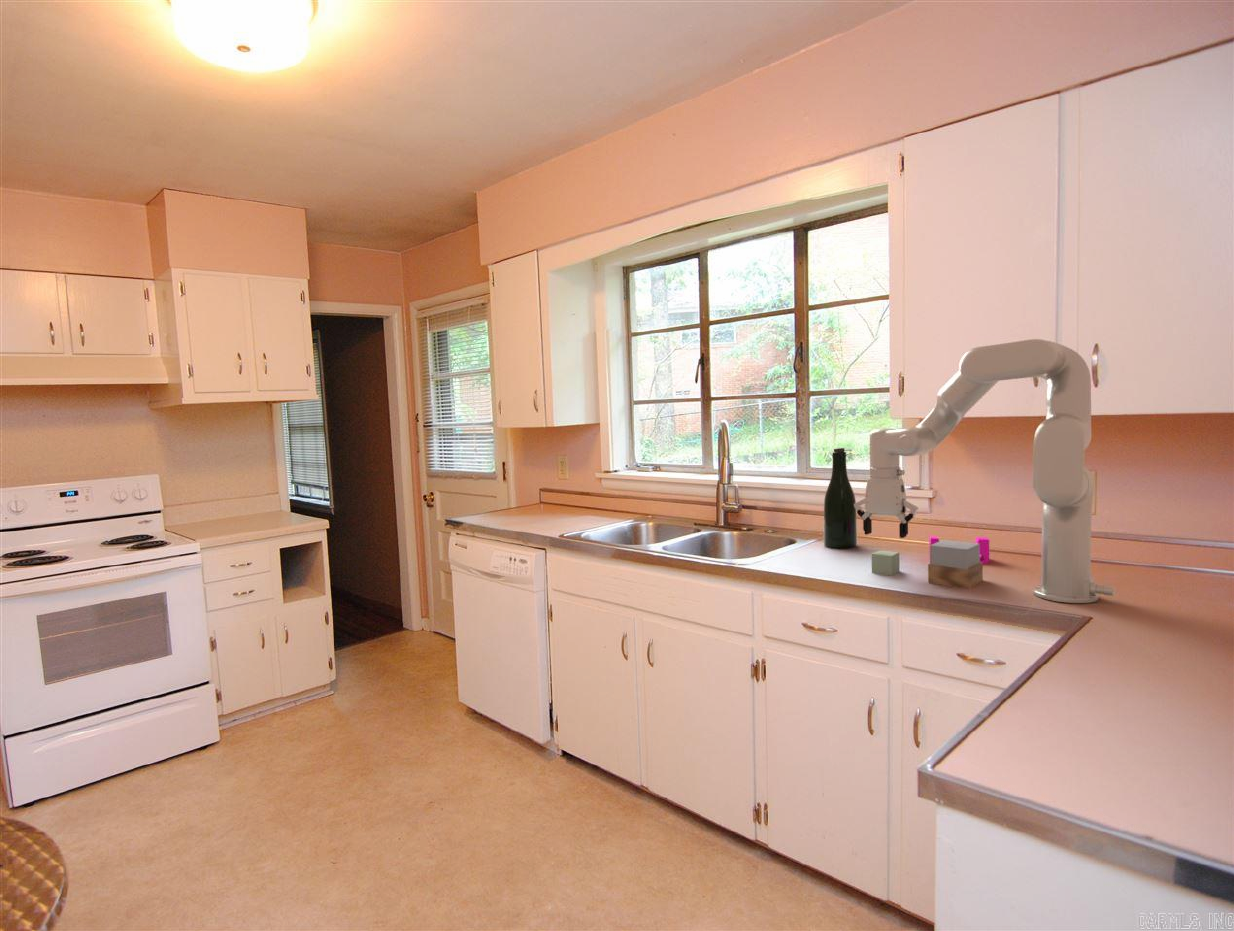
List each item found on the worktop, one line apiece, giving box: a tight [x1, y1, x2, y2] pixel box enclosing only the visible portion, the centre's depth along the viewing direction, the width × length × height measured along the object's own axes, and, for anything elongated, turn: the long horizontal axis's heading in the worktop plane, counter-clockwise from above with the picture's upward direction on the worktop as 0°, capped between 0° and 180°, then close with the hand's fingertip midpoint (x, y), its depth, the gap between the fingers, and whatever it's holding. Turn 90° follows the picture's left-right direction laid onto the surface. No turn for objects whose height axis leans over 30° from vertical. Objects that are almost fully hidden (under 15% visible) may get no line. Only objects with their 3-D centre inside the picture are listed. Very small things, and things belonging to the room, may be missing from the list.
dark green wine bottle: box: [823, 447, 858, 550], centre depth 219 cm, size 10×10×33 cm
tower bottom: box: [927, 562, 984, 590], centre depth 172 cm, size 10×10×5 cm
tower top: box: [929, 539, 980, 569], centre depth 172 cm, size 9×9×5 cm
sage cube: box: [871, 550, 901, 576], centre depth 185 cm, size 6×6×6 cm
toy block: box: [928, 535, 990, 564], centre depth 194 cm, size 15×6×8 cm, turn 71°
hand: (885, 535), depth 184 cm, fingers open, 9 cm apart
